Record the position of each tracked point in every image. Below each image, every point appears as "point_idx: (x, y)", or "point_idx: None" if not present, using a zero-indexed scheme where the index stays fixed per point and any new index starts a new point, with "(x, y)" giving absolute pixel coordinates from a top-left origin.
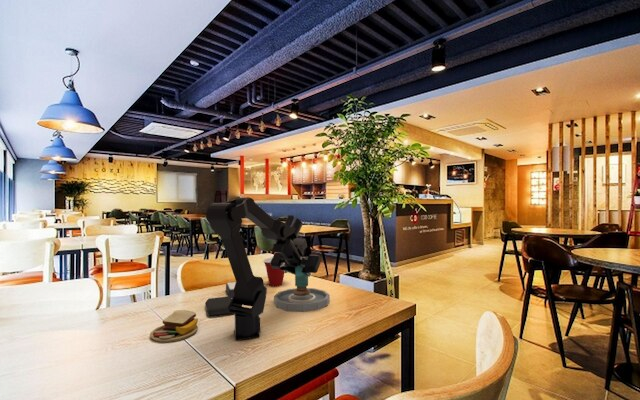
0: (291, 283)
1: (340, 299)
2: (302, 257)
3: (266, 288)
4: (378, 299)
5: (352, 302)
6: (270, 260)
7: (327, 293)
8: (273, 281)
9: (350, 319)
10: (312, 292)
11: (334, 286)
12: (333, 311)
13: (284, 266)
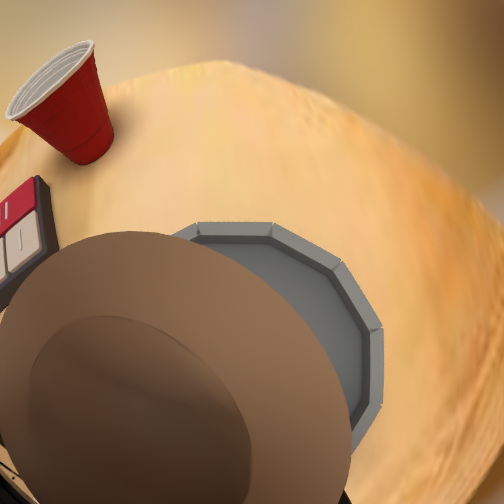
0: (146, 116)
1: (406, 289)
2: (110, 310)
3: (46, 253)
4: (500, 260)
5: (452, 317)
6: (43, 76)
7: (368, 307)
8: (73, 155)
9: (444, 484)
10: (264, 243)
11: (327, 121)
12: (397, 449)
13: (28, 493)
